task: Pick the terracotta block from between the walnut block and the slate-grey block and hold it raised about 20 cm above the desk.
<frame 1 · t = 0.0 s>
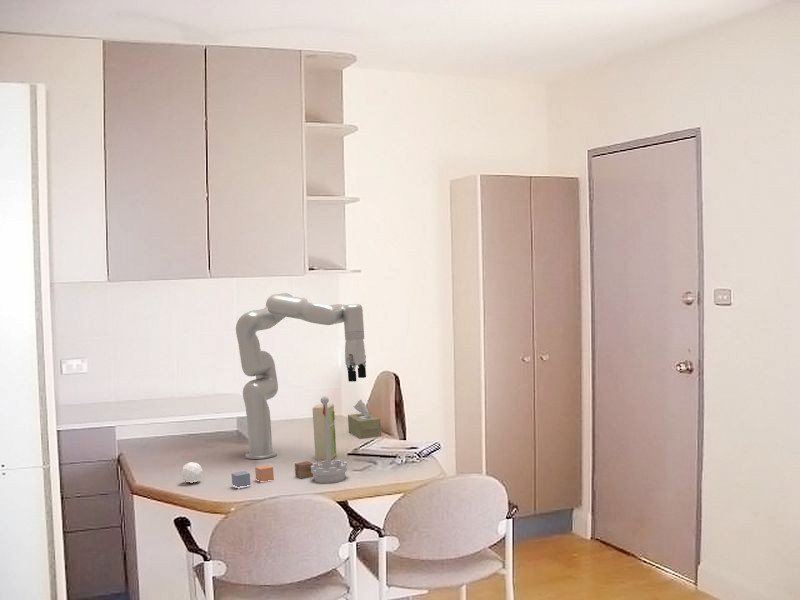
hand: (357, 379, 353), 31 cm above the table, tool pointing down, fingers open, 9 cm apart
geometric ball: (192, 483, 332), on the table
walnut block: (304, 476, 331), on the table
terracotta block: (264, 480, 329), on the table
green and beige carton: (327, 458, 360), on the table
flag stand: (329, 479, 325), on the table
tissue box: (364, 435, 403), on the table
slate-grey block: (241, 487, 321), on the table
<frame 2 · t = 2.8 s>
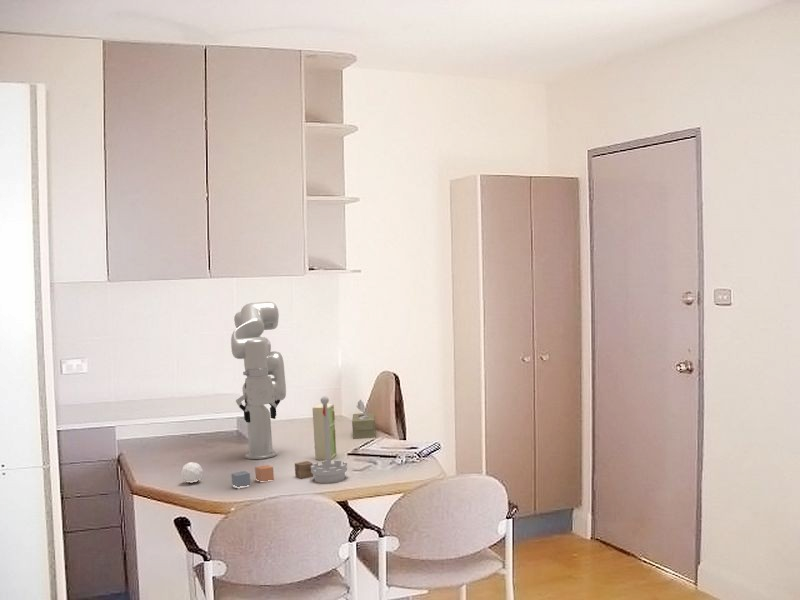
hand: (260, 420, 327), 22 cm above the table, tool pointing down, fingers open, 9 cm apart
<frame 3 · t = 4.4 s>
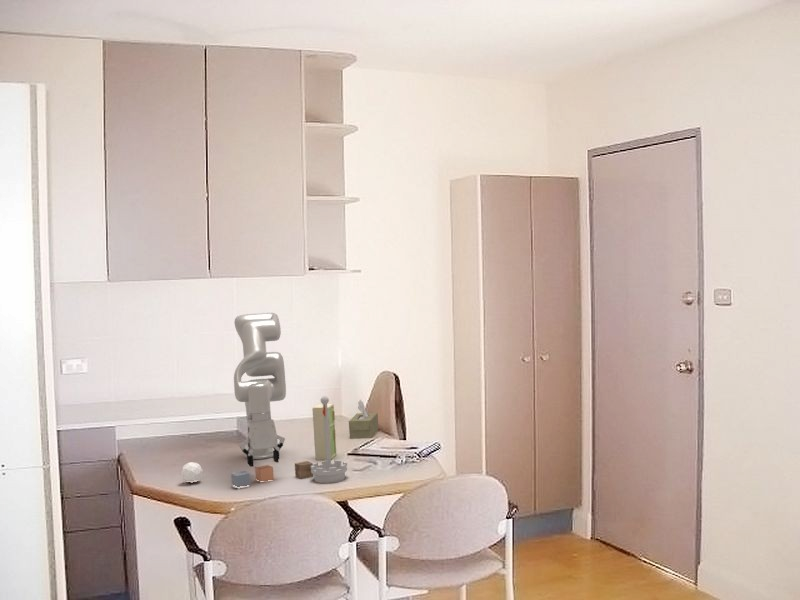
hand: (263, 464, 328), 6 cm above the table, tool pointing down, fingers open, 9 cm apart
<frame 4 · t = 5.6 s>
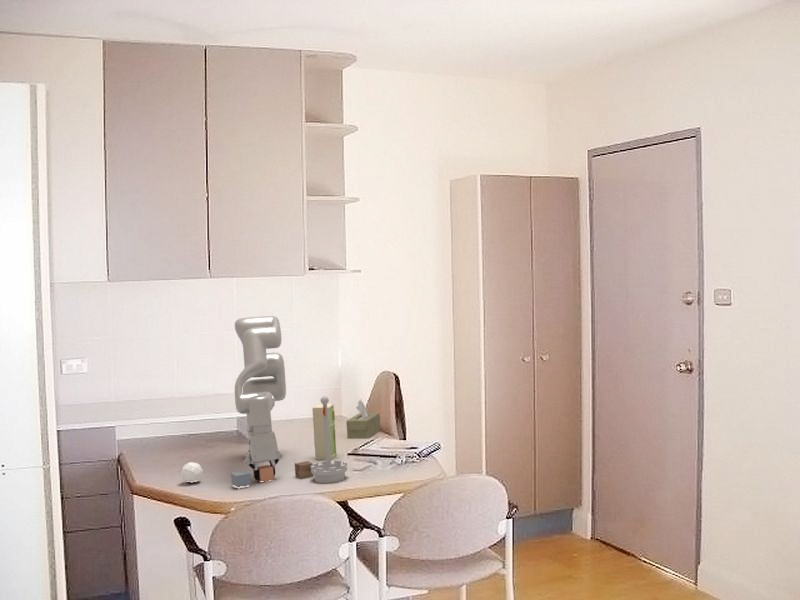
hand: (264, 478, 329), 1 cm above the table, tool pointing down, fingers closed on terracotta block, 5 cm apart
terracotta block: (264, 480, 329), on the table, touching gripper
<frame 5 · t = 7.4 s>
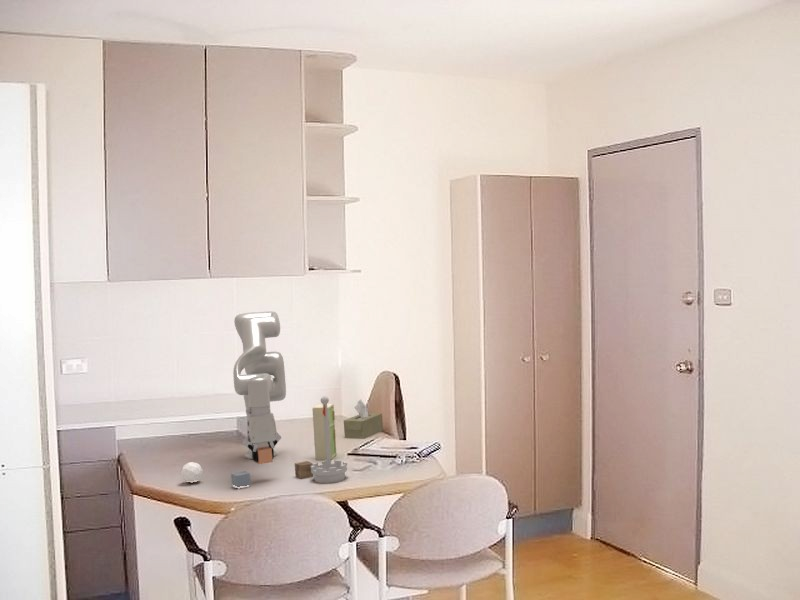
hand: (263, 459, 329), 7 cm above the table, tool pointing down, fingers closed on terracotta block, 5 cm apart
terracotta block: (263, 461, 329), point 7 cm above the table, touching gripper
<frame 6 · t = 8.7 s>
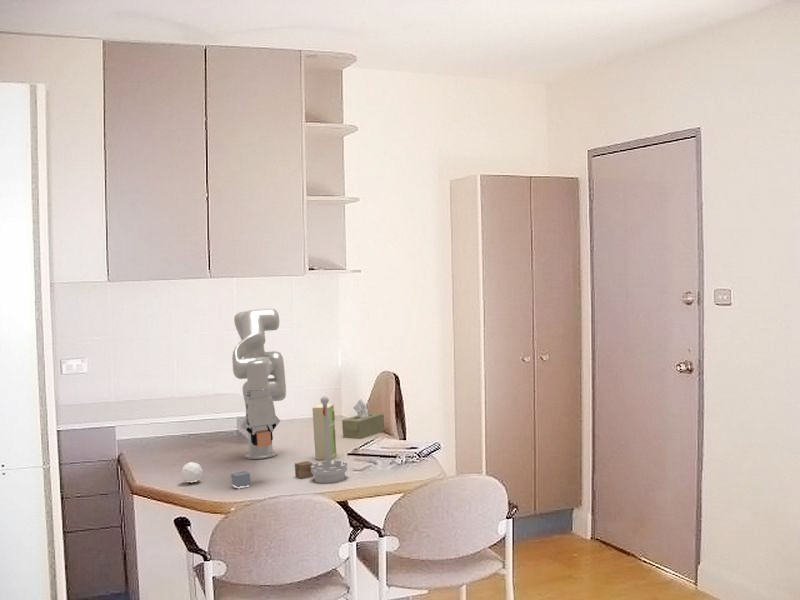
hand: (262, 443, 328), 14 cm above the table, tool pointing down, fingers closed on terracotta block, 5 cm apart
terracotta block: (262, 445, 328), point 13 cm above the table, touching gripper
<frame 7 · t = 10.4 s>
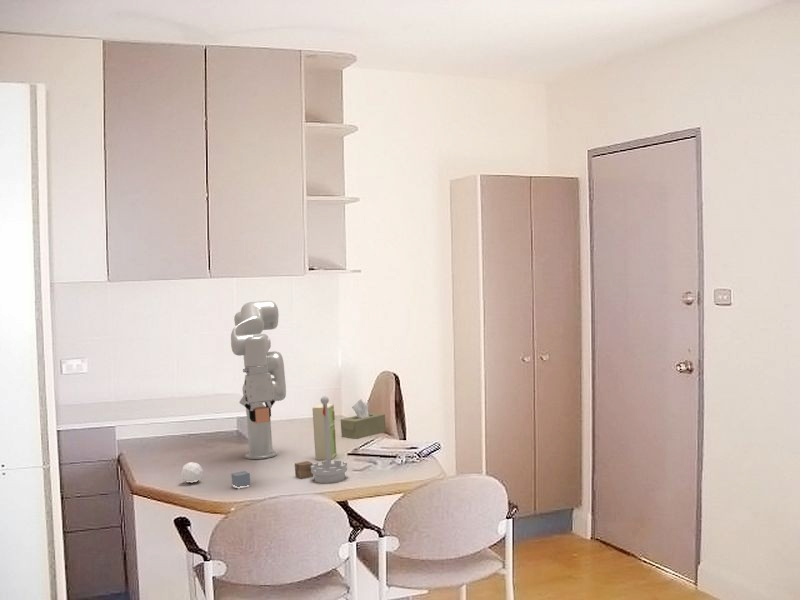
hand: (260, 419, 328), 22 cm above the table, tool pointing down, fingers closed on terracotta block, 5 cm apart
terracotta block: (260, 421, 328), point 22 cm above the table, touching gripper
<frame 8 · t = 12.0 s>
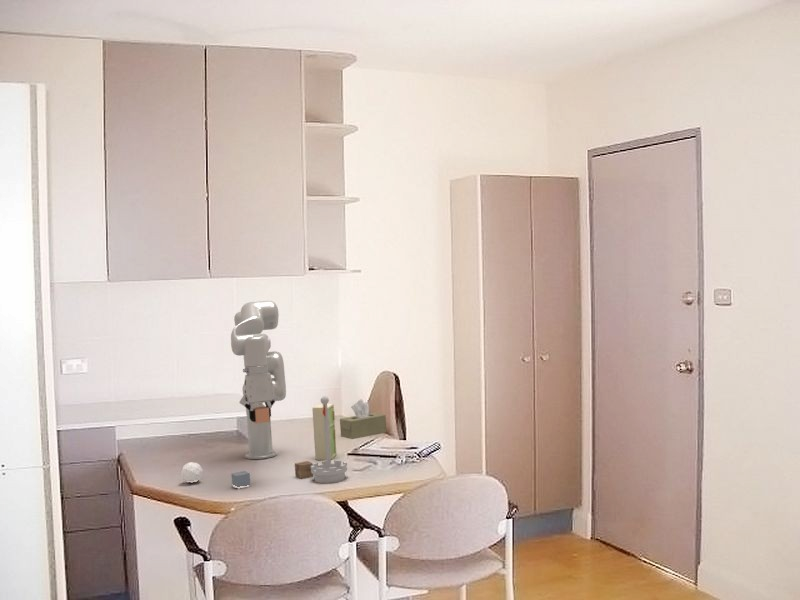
hand: (260, 419, 328), 22 cm above the table, tool pointing down, fingers closed on terracotta block, 5 cm apart
terracotta block: (260, 421, 328), point 22 cm above the table, touching gripper
at the end: the gripper is holding terracotta block; terracotta block point 21.6 cm above the table; slate-grey block moved 0.1 cm from its start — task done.
